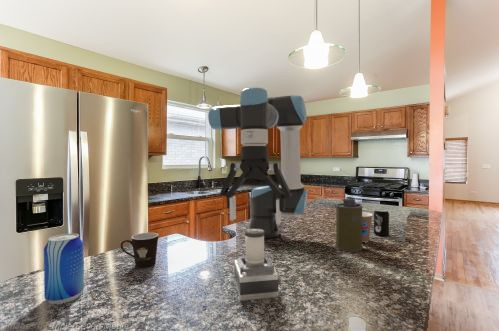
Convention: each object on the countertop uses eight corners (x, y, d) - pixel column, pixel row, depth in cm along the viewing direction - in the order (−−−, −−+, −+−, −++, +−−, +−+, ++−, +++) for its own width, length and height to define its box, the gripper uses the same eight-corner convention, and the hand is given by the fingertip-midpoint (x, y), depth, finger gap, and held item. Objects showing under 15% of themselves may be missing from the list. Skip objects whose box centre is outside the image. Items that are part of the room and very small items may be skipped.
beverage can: (390, 237, 124) (391, 211, 124) (375, 236, 125) (375, 211, 125) (386, 233, 130) (386, 208, 130) (372, 232, 132) (372, 208, 131)
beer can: (58, 290, 74) (57, 232, 73) (89, 289, 74) (89, 232, 74) (36, 307, 65) (35, 242, 65) (72, 305, 66) (71, 241, 66)
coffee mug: (163, 261, 94) (163, 233, 94) (147, 271, 86) (146, 240, 86) (137, 258, 98) (137, 231, 98) (118, 266, 90) (118, 237, 90)
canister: (349, 253, 102) (350, 201, 102) (330, 245, 112) (330, 198, 111) (369, 249, 107) (369, 199, 107) (348, 242, 117) (348, 196, 116)
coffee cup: (347, 242, 116) (347, 214, 116) (348, 236, 126) (348, 210, 126) (373, 245, 112) (373, 216, 112) (372, 238, 122) (372, 212, 122)
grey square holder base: (234, 279, 80) (234, 255, 80) (267, 277, 82) (267, 253, 82) (240, 300, 68) (240, 271, 68) (278, 296, 70) (278, 268, 70)
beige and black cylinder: (242, 269, 73) (242, 232, 73) (249, 261, 78) (248, 228, 78) (261, 271, 71) (261, 234, 71) (266, 264, 76) (266, 229, 76)
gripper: (208, 146, 75) (209, 221, 76) (297, 144, 66) (297, 228, 67) (219, 146, 82) (220, 215, 83) (301, 144, 74) (301, 221, 74)
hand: (255, 221), depth 75 cm, fingers open, 13 cm apart
